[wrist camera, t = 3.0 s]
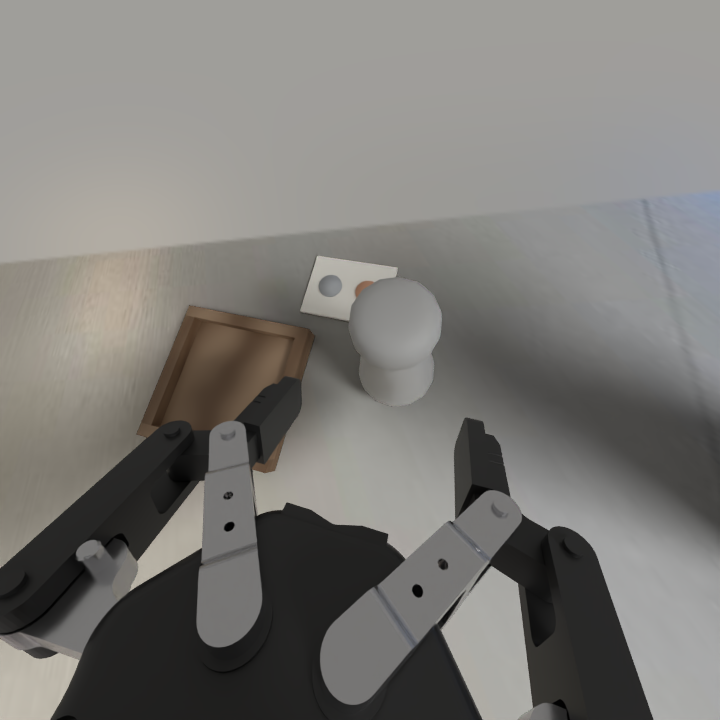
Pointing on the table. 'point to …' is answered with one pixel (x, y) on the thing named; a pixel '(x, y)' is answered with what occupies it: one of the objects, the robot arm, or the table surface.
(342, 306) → the card
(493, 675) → the table surface
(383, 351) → the salt shaker
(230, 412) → the walnut tray
